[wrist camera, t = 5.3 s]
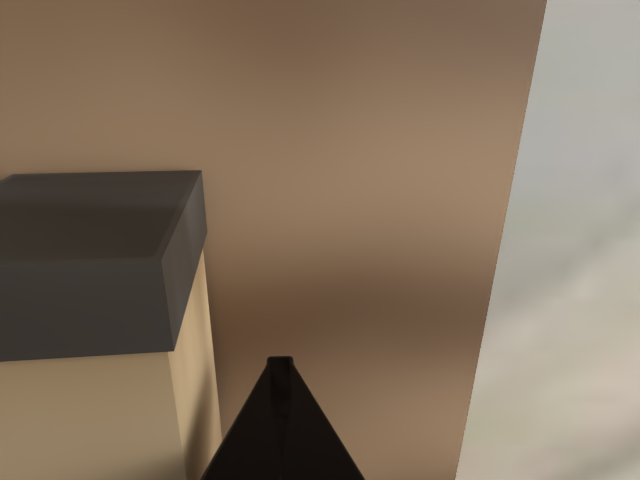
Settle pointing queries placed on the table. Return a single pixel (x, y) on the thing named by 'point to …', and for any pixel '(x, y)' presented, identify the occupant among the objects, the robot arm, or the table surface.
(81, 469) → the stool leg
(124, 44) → the brown wooden block
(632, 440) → the table surface
